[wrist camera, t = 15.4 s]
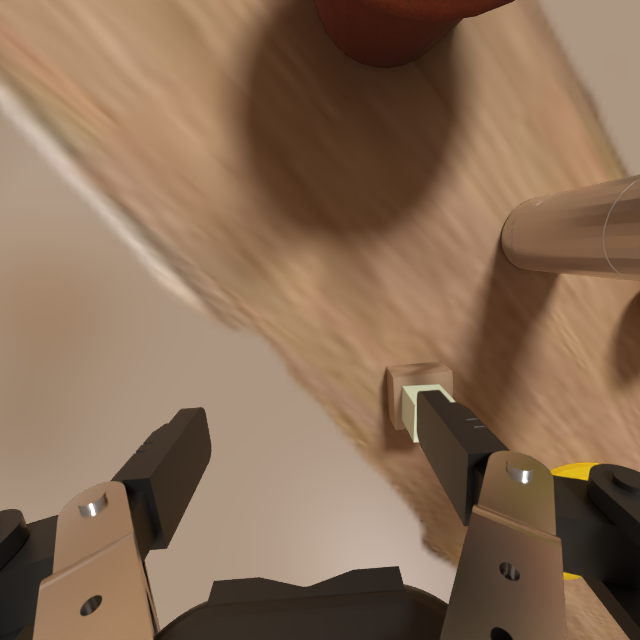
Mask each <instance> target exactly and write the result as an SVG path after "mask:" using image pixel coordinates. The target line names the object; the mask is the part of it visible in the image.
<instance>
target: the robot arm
mask: <svg viewBox="0 0 640 640" xmlns="http://www.w3.org/2000/svg"><path fill="white" fill-rule="evenodd" d="M501 238H502V248H503V252H504V254H505V256H506V258H507V259H508V260H509V261H510V262H511V263H512V264H513V265H515V266H516V267H518V268H521V269H525V270H533V271H543V272H552V273H562V274H572V275H583V276H593V277H603V278H613V279H624V280H634V281H640V175H636V176H631V177H627V178H622V179H618V180H614V181H609V182H605V183H600V184H596V185H592V186H587V187H583V188H578V189H574V190H570V191H565V192H560V193H556V194H552V195H547V196H543V197H538V198H535V199H531V200H528V201H526V202H524V203H522V204H521V205H520V206H518V207H517V208H516V209H515V210H514V211H513V212H512V213H511V214H510V216H509V217H508V219H507V221H506V222H505V225H504V228H503V231H502V237H501ZM417 436H418V440H419V444H420V446H421V448H422V450H423V452H424V453H425V455H426V457H427V459H428V461H429V463H430V464H431V466H432V468H433V470H434V472H435V473H436V475H437V477H438V479H439V481H440V483H441V484H442V486H443V488H444V490H445V492H446V494H447V495H448V497H449V499H450V501H451V503H452V505H453V506H454V508H455V510H456V512H457V514H458V515H459V517H460V519H461V521H462V523H463V525H464V526H468V529H467V533H466V537H465V541H464V545H463V549H462V553H461V557H460V561H459V565H458V569H457V573H456V577H455V581H454V584H453V588H452V592H451V596H450V601H449V604H447V603H445V602H444V601H442V600H441V599H439V598H437V597H436V596H434V595H432V594H430V593H428V592H426V591H424V590H421V589H418V588H415V587H412V586H409V585H404V584H403V581H402V577H401V573H400V570H399V566H395V567H382V568H370V569H357V570H352V571H349V572H346V573H344V574H341V575H338V576H336V577H333V578H330V579H328V580H325V581H322V582H320V583H317V584H315V585H312V586H308V587H301V586H296V585H292V584H287V583H283V582H278V581H274V580H269V579H264V578H260V577H258V578H246V579H233V580H221V581H214V582H213V586H212V589H211V592H210V596H209V599H208V601H206V602H204V603H202V604H199V605H197V606H195V607H193V608H192V609H190V610H188V611H187V612H185V613H183V614H182V615H180V616H179V617H177V618H176V619H175V620H173V621H172V622H171V623H169V624H168V625H167V626H166V627H164V628H163V629H162V630H161V631H160V627H159V623H158V618H157V613H156V608H155V604H154V600H153V595H152V591H151V586H150V581H149V577H148V572H147V567H146V564H145V558H146V556H147V554H148V553H149V551H150V550H156V549H167V547H168V545H169V543H170V541H171V539H172V537H173V535H174V533H175V531H176V529H177V527H178V525H179V523H180V521H181V518H182V516H183V514H184V512H185V510H186V508H187V506H188V504H189V502H190V500H191V498H192V496H193V494H194V492H195V490H196V488H197V485H198V484H199V481H200V479H201V477H202V475H203V473H204V471H205V469H206V467H207V465H208V463H209V461H210V457H211V440H210V435H209V429H208V424H207V418H206V413H205V410H204V409H203V408H202V407H200V408H188V409H187V408H186V409H181V410H179V412H178V413H177V414H176V415H175V416H174V418H173V419H172V420H171V421H170V422H169V423H168V424H164V425H163V426H162V427H160V428H159V429H157V430H156V431H154V432H153V433H152V434H151V435H150V436H149V437H148V438H147V440H146V441H145V442H144V444H143V445H141V446H140V448H139V449H138V450H137V451H136V454H133V456H132V457H131V458H130V459H129V460H128V461H127V462H126V464H125V465H124V466H123V467H122V468H121V469H120V471H119V472H118V473H117V474H116V475H115V476H114V477H113V479H112V480H111V481H110V482H104V483H101V484H98V485H95V486H92V487H90V488H88V489H86V490H84V491H83V492H81V493H79V494H78V495H76V496H75V497H74V498H72V499H71V500H70V501H69V502H68V503H67V504H66V505H65V506H64V507H63V508H62V510H61V511H60V513H59V515H56V516H52V517H49V518H46V519H43V520H39V521H36V522H32V523H29V524H26V522H25V520H24V517H23V514H22V512H21V511H20V510H17V509H9V510H3V511H0V640H567V627H566V610H565V594H564V578H563V572H565V573H569V574H573V575H578V576H582V577H583V578H584V580H585V581H586V582H587V584H588V585H589V586H590V588H591V589H592V590H593V592H594V593H595V594H596V596H597V597H598V598H599V599H600V601H601V602H602V603H603V605H604V606H605V607H606V609H607V610H608V611H609V613H610V614H611V615H612V617H613V618H614V619H615V620H616V622H617V623H618V624H619V626H620V627H621V628H622V630H623V631H624V632H625V634H626V635H627V636H628V637H629V639H630V640H640V472H638V471H635V470H632V469H629V468H626V467H623V466H618V465H613V464H598V465H594V466H593V467H591V469H590V471H589V477H588V480H582V479H575V478H569V477H562V476H556V475H552V473H551V472H550V470H549V469H548V468H547V467H546V466H545V465H544V464H542V463H541V462H540V461H538V460H536V459H534V458H533V457H530V456H528V455H526V454H523V453H519V452H514V451H510V450H509V449H508V448H507V447H506V446H505V445H504V444H503V443H502V442H501V441H500V440H499V439H498V438H497V437H496V436H495V435H494V434H493V433H492V432H491V431H490V430H489V429H488V428H487V427H485V425H484V424H483V423H482V422H481V421H480V420H478V418H477V417H476V416H475V415H474V414H473V413H472V412H471V411H470V409H468V408H466V407H464V406H463V405H461V404H459V403H457V402H450V401H449V400H448V399H447V397H446V396H445V395H444V394H443V393H442V392H441V391H440V390H428V391H418V393H417Z"/></svg>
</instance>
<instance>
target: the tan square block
mask: <svg viewBox="0 0 640 640" xmlns="http://www.w3.org/2000/svg"><path fill="white" fill-rule="evenodd" d="M386 369H387V390H388V410H389V417H390V420H391V422H392V424H393V426H394V428H395V430H404V429H406V427H405V425H404V423H403V421H402V386H417V385H437V384H440V386H441V387H442V388H443V389H444V390H445V391H446V392H447V393H448V394H449V395H450V396H451V397H452V398H453V371H452V370H450V369H449V368H448V367H447V366H446V365H445V364H444V363H442V362H441V361H440V362H430V363H420V364H410V365H400V366H390V367H386Z"/></svg>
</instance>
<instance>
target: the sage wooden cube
mask: <svg viewBox="0 0 640 640" xmlns="http://www.w3.org/2000/svg"><path fill="white" fill-rule="evenodd" d="M428 390H440V391H441V392H442V393H443V394H444V395H445V396H446V397H447V399H448V400H449V401H450V402H455V400H454V399H453V398H452V397H451V396H450V395H449V394H448V393H447V392H446V391H445V390H444V389H443V388H442V387H441V386H440V384H437V385H417V386H402V421H403V423H404V425H405V427H406V429H407V431H408V432H409V434H410V436H411V438H412V440H413V442H419V440H418V436H417V393H418V391H428Z"/></svg>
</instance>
